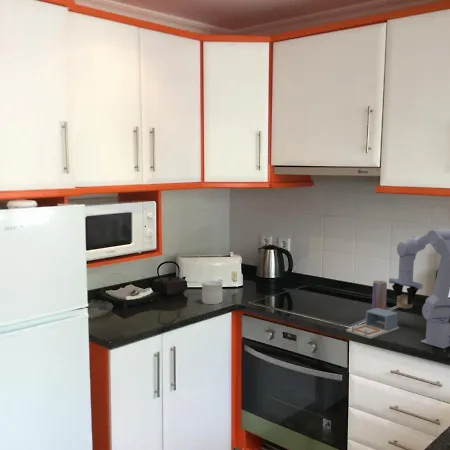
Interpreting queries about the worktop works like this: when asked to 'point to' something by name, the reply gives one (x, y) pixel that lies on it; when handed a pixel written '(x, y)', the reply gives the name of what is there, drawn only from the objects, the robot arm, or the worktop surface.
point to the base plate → (370, 329)
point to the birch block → (403, 302)
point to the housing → (382, 317)
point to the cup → (212, 292)
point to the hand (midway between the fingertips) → (404, 302)
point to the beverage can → (379, 294)
